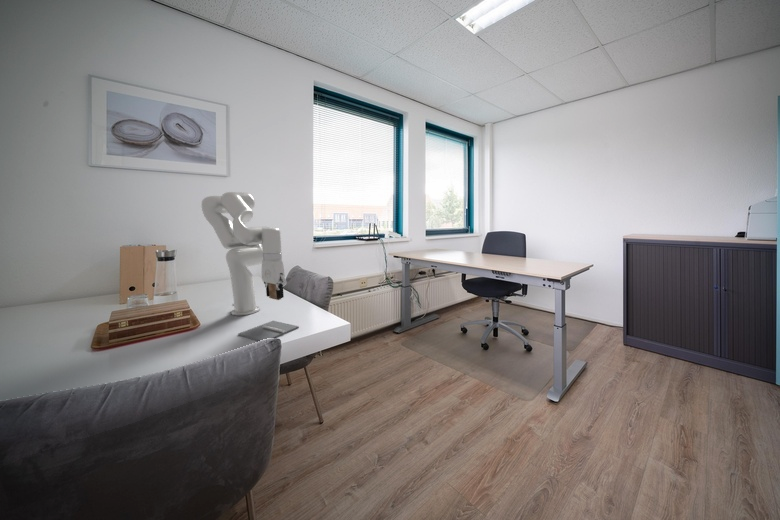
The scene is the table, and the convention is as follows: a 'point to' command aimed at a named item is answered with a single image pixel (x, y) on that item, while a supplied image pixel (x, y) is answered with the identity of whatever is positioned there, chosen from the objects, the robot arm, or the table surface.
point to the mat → (268, 330)
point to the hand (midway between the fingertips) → (275, 296)
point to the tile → (272, 291)
